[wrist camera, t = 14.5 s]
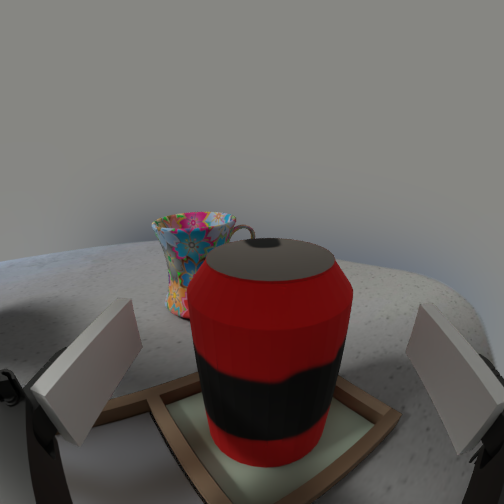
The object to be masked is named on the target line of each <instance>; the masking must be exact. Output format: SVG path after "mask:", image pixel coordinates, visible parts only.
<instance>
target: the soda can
mask: <svg viewBox="0 0 504 504" xmlns="http://www.w3.org/2000/svg"><path fill="white" fill-rule="evenodd" d="M187 300H188V308H189V316H190V323H191V330H192V337H193V344H194V350H195V356H196V362H197V368H198V374H199V379H200V385H201V390H202V395H203V401H204V406H205V410H206V415H207V420H208V425H209V429H210V434H211V437H212V439H213V441H214V443H215V444H216V445H217V447H218V448H219V449H220V450H221V451H222V452H223V453H224V454H226V455H227V456H228V457H230V458H231V459H233V460H235V461H237V462H239V463H242V464H246V465H249V466H254V467H264V468H267V467H279V466H283V465H287V464H290V463H293V462H295V461H297V460H299V459H301V458H303V457H304V456H305V455H307V454H308V453H309V452H311V451H312V449H313V448H314V447H315V446H316V445H317V444H318V442H319V440H320V438H321V436H322V433H323V429H324V426H325V423H326V419H327V416H328V412H329V409H330V405H331V401H332V397H333V394H334V390H335V386H336V381H337V377H338V373H339V369H340V364H341V360H342V355H343V350H344V345H345V340H346V335H347V329H348V324H349V318H350V312H351V306H352V300H353V289H352V286H351V284H350V282H349V281H348V279H347V277H346V276H345V274H344V273H343V271H342V270H341V268H340V267H339V265H338V264H337V262H336V261H335V257H334V255H333V254H332V253H331V252H330V251H329V250H327V249H325V248H323V247H321V246H318V245H316V244H312V243H308V242H304V241H298V240H292V239H280V238H259V239H247V240H240V241H235V242H230V243H227V244H223V245H221V246H218V247H216V248H214V249H213V250H211V251H210V252H209V253H208V254H207V255H206V259H205V261H204V262H203V264H202V265H201V266H200V268H199V269H198V271H197V272H196V274H195V275H194V276H193V278H192V279H191V281H190V282H189V284H188V287H187Z"/></svg>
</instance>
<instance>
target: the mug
mask: <svg viewBox="0 0 504 504" xmlns="http://www.w3.org/2000/svg"><path fill="white" fill-rule="evenodd" d="M235 222H236V217H235V216H233V215H231V214H226V213H219V212H192V213H182V214H176V215H170V216H166V217H162V218H159V219H157V220H155V221H154V222H153V223H152V228H153V230H154V232H155V233H156V235H157V237H158V239H159V242H160V244H161V246H162V249H163V251H164V254H165V258H166V262H167V266H168V273H169V287H168V293H167V296H166V299H165V305H166V307H167V309H168V310H169V311H170V312H171V313H173V314H175V315H177V316H179V317H183V318H189V319H190V316H189V308H188V300H187V287H188V284H189V282H190V281H191V279H192V278H193V276H194V275H195V274H196V272H197V271H198V269H199V268H200V266H201V265H202V264H203V262H204V261H205V259H206V255H207V254H208V253H209V252H210V251H211V250H213V249H214V248H216V247H218V246H221V245H223V244H227V243H229V241H230V238H231V236H232V235H233V234H234V232H236V231H237V230H239V229H242V228H246V229H248V230H249V231H250V233H251V239H255V232H254V230H253V229H252V228H251V227H250V226H247V225H238V226H236V227H234V225H235ZM233 227H234V228H233Z"/></svg>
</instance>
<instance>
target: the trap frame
mask: <svg viewBox="0 0 504 504" xmlns="http://www.w3.org/2000/svg"><path fill="white" fill-rule="evenodd" d="M149 412H152V414H153V416H154V418H155V420H156V422H157V424H158V426H159V427H160V429H161V431H162V433H163V435H164V437H165V438H166V440H167V442H168V444H169V445H170V447H171V449H172V451H173V452H174V454H175V456H176V457H177V459H178V461H179V462H180V464H181V465H182V467H183V469H184V470H185V472H186V473H187V475H188V476H189V478H190V479H191V481H192V482H193V484H194V485H195V487H196V488H197V489H198V491H199V492H200V494H201V495H202V496H203V498H204V499H205V501H206V502H207V503H208V504H310V503H312V502H313V501H314V500H316V499H317V498H319V497H320V496H321V495H323V494H324V493H325V492H326V491H328V490H329V489H330V488H331V487H333V486H334V485H335V484H336V483H338V482H339V481H340V480H341V479H342V478H344V477H345V476H346V475H347V474H348V473H349V472H350V471H352V470H353V469H354V468H355V467H356V466H357V465H358V464H359V463H360V462H361V461H363V460H364V459H365V458H366V457H367V456H368V455H369V454H370V453H371V452H372V451H373V450H374V449H375V448H376V447H377V446H378V445H379V444H380V443H381V442H382V441H383V439H384V438H385V437H386V436H387V435H388V434H389V433H390V432H391V431H392V430H393V429H394V427H395V426H396V424H397V423H398V421H399V419H400V417H401V415H402V414H401V413H400V412H398V411H396V410H395V409H393V408H391V407H389V406H388V405H386V404H384V403H383V402H381V401H379V400H378V399H376V398H374V397H373V396H371V395H369V394H368V393H366V392H365V391H363V390H361V389H360V388H358V387H356V386H355V385H353V384H352V383H350V382H349V381H347V380H345V379H344V378H342V377H341V376H339V375H338V377H337V381H336V386H335V390H334V394H333V397H332V401H331V405H330V409H329V412H328V416H327V419H326V423H325V426H324V429H323V433H322V436H321V438H320V440H319V442H318V444H317V445H316V446H315V447H314V448H313V449H312V451H311V452H309V453H308V454H307V455H305V456H304V457H303V458H301V459H299V460H297V461H295V462H293V463H290V464H287V465H283V466H279V467H267V468H264V467H254V466H249V465H246V464H242V463H239V462H237V461H235V460H233V459H231V458H230V457H228V456H227V455H226V454H224V453H223V452H222V451H221V450H220V449H219V448H218V447H217V445H216V444H215V443H214V441H213V439H212V437H211V434H210V429H209V425H208V420H207V415H206V410H205V406H204V401H203V395H202V390H201V385H200V379H199V374H198V372H195V373H193V374H190V375H187V376H184V377H181V378H178V379H176V380H173V381H170V382H167V383H164V384H161V385H158V386H154V387H151V388H148V389H145V390H142V391H138V392H135V393H132V394H128V395H125V396H121V397H117V398H114V399H110V400H108V402H107V403H106V405H105V407H104V408H103V410H102V412H101V413H100V415H99V416H98V418H97V420H96V421H95V423H94V425H93V426H92V428H91V430H90V431H89V433H88V435H87V436H86V438H85V440H84V441H83V443H82V445H81V447H78V446H76V445H74V444H72V443H70V442H67V441H65V440H64V438H63V437H62V436H61V435H60V433H59V432H58V431H57V433H56V434H55V437H56V439H57V441H58V445H59V451H60V456H61V460H62V465H63V469H64V473H65V477H66V481H67V485H68V489H69V492H70V495H71V499H72V502H73V504H204V503H203V502H202V500H201V499H200V497H199V496H198V495H197V493H196V492H195V490H194V489H193V487H192V486H191V484H190V483H189V481H188V480H187V478H186V477H185V475H184V474H183V472H182V471H181V469H180V467H179V466H178V464H177V462H176V461H175V459H174V457H173V456H172V454H171V452H170V451H169V449H168V447H167V445H166V444H165V442H164V440H163V438H162V436H161V435H160V433H159V431H158V429H157V427H156V425H155V423H154V421H153V419H152V417H151V415H150V413H149ZM199 460H200V461H199ZM204 467H205V468H204ZM223 492H224V493H223Z"/></svg>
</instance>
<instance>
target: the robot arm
mask: <svg viewBox="0 0 504 504" xmlns="http://www.w3.org/2000/svg"><path fill="white" fill-rule="evenodd" d="M141 349H142V343H141V339H140V335H139V331H138V327H137V323H136V319H135V314H134V310H133V305H132V300H131V299H125V298H117V299H116V300H115V301H114V302H113V303H112V304H111V305H110V306H109V307H108V308H106V309H105V310H104V311H103V312H102V313H101V314H100V315H99V316H98V317H97V318H96V319H95V320H94V321H93V322H92V323H91V324H90V325H89V326H88V327H87V328H86V329H85V330H84V331H83V332H82V333H81V334H80V335H79V336H78V337H77V338H76V339H75V340H74V342H73V343H72V344H71V345H70V346H69V347H65V348H63V349H62V350H60V351H58V352H57V353H55V354H54V356H53V357H52V358H51V359H50V360H49V362H47V363H46V364H45V365H44V366H43V368H41V369H40V370H39V371H38V373H37V374H36V375H35V376H34V377H33V378H32V379H31V380H30V381H29V382H28V383H27V385H26V386H25V387H24V388H23V389H22V387H21V385H20V383H19V382H18V380H17V378H16V376H15V375H14V373H13V372H12V371H10V370H8V369H2V370H0V504H73V502H72V499H71V495H70V492H69V489H68V485H67V481H66V477H65V473H64V469H63V465H62V460H61V456H60V451H59V445H58V441H57V439H56V437H55V434H56V433H57V431H58V432H59V433H60V435H61V436H62V437H63V438H64V440H65V441H67V442H70V443H72V444H74V445H76V446H78V447H81V445H82V443H83V441H84V440H85V438H86V436H87V435H88V433H89V431H90V430H91V428H92V426H93V425H94V423H95V421H96V420H97V418H98V416H99V415H100V413H101V412H102V410H103V408H104V407H105V405H106V403H107V402H108V400H109V399H110V397H111V395H112V394H113V392H114V391H115V389H116V388H117V386H118V384H119V383H120V381H121V380H122V378H123V377H124V375H125V373H126V372H127V370H128V369H129V367H130V366H131V364H132V363H133V361H134V360H135V358H136V356H137V355H138V353H139V352H140V350H141ZM406 354H407V356H408V357H409V359H410V361H411V363H412V364H413V366H414V368H415V370H416V372H417V373H418V375H419V377H420V379H421V381H422V383H423V385H424V386H425V388H426V390H427V392H428V394H429V396H430V398H431V400H432V402H433V404H434V406H435V408H436V410H437V412H438V414H439V416H440V418H441V420H442V422H443V424H444V426H445V428H446V431H447V433H448V435H449V437H450V439H451V442H452V444H453V446H454V448H455V451H456V453H457V455H461V454H463V453H465V452H468V451H470V450H472V449H473V448H474V447H475V446H476V445H477V444H478V442H479V441H480V440H481V441H482V443H483V445H482V447H481V448H480V449H479V450H478V451H477V452H476V453H475V454H474V455H473V457H472V458H471V459H470V461H469V463H471V462H472V461H473V460H474V459H475V458H476V457H477V456H478V457H477V460H476V462H475V463H474V464H475V467H474V471H473V474H472V477H471V480H470V483H469V486H468V488H467V491H466V494H465V496H464V499H463V501H462V504H504V379H503V378H502V376H500V373H499V372H498V371H497V370H495V367H494V366H493V365H492V363H491V362H490V361H489V360H488V359H487V358H485V357H484V356H482V355H481V354H478V353H477V352H476V351H475V350H474V349H473V347H472V346H471V345H470V344H469V343H468V341H467V340H466V339H465V338H464V337H463V336H462V334H461V333H460V332H459V331H458V330H457V329H456V328H455V327H454V325H453V324H452V323H451V322H450V321H449V320H448V319H447V318H446V317H445V315H444V314H443V313H442V312H441V311H440V310H439V309H438V308H437V307H436V306H435V305H434V304H433V303H426V304H420V306H419V310H418V313H417V317H416V321H415V324H414V327H413V331H412V334H411V337H410V340H409V343H408V346H407V349H406Z"/></svg>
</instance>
